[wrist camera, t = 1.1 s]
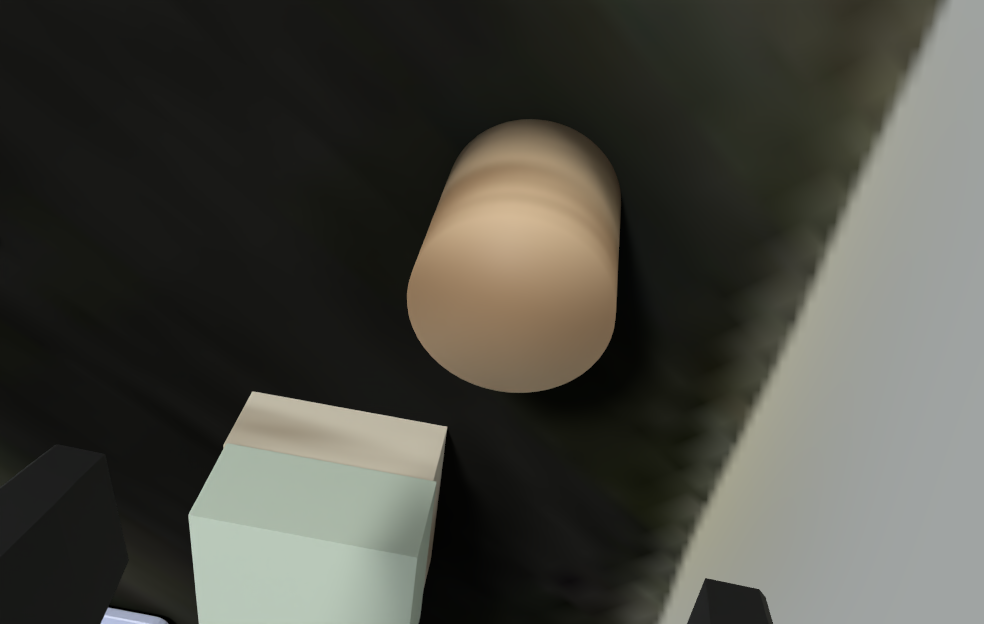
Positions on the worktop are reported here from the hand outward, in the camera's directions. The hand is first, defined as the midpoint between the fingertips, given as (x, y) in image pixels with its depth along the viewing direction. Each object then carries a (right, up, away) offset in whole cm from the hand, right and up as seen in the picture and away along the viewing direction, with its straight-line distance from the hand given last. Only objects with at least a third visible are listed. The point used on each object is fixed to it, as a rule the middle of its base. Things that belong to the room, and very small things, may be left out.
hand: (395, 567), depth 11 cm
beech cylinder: (+2, +6, +10) cm, 12 cm away
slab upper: (-3, -3, +14) cm, 15 cm away
